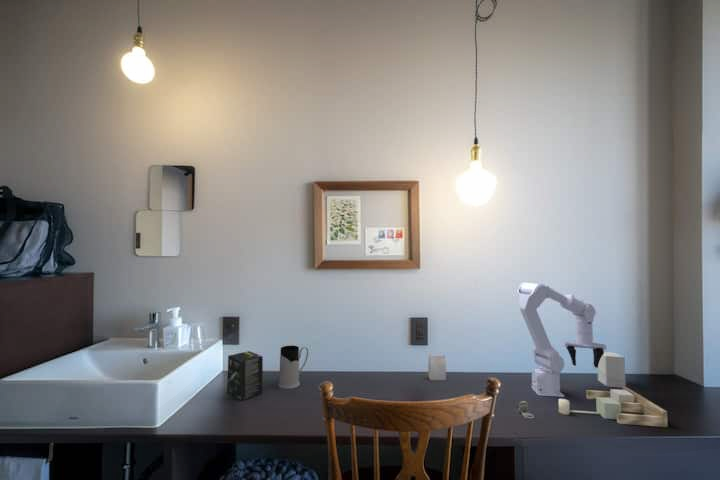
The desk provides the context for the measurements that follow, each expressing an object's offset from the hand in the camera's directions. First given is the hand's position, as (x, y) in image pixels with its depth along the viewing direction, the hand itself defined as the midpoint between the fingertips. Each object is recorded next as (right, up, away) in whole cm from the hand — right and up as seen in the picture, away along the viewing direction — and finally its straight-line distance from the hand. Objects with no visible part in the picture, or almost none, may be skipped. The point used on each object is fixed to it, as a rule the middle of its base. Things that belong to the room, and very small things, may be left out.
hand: (584, 365), depth 136 cm
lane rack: (0, -9, -20) cm, 21 cm away
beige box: (-58, -10, +10) cm, 60 cm away
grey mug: (-120, -9, +4) cm, 120 cm away
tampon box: (-137, -8, -8) cm, 137 cm away
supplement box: (+15, -10, +5) cm, 19 cm away
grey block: (+3, -9, -15) cm, 18 cm away
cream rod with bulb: (-14, -8, -22) cm, 28 cm away
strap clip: (-36, -9, -21) cm, 42 cm away
